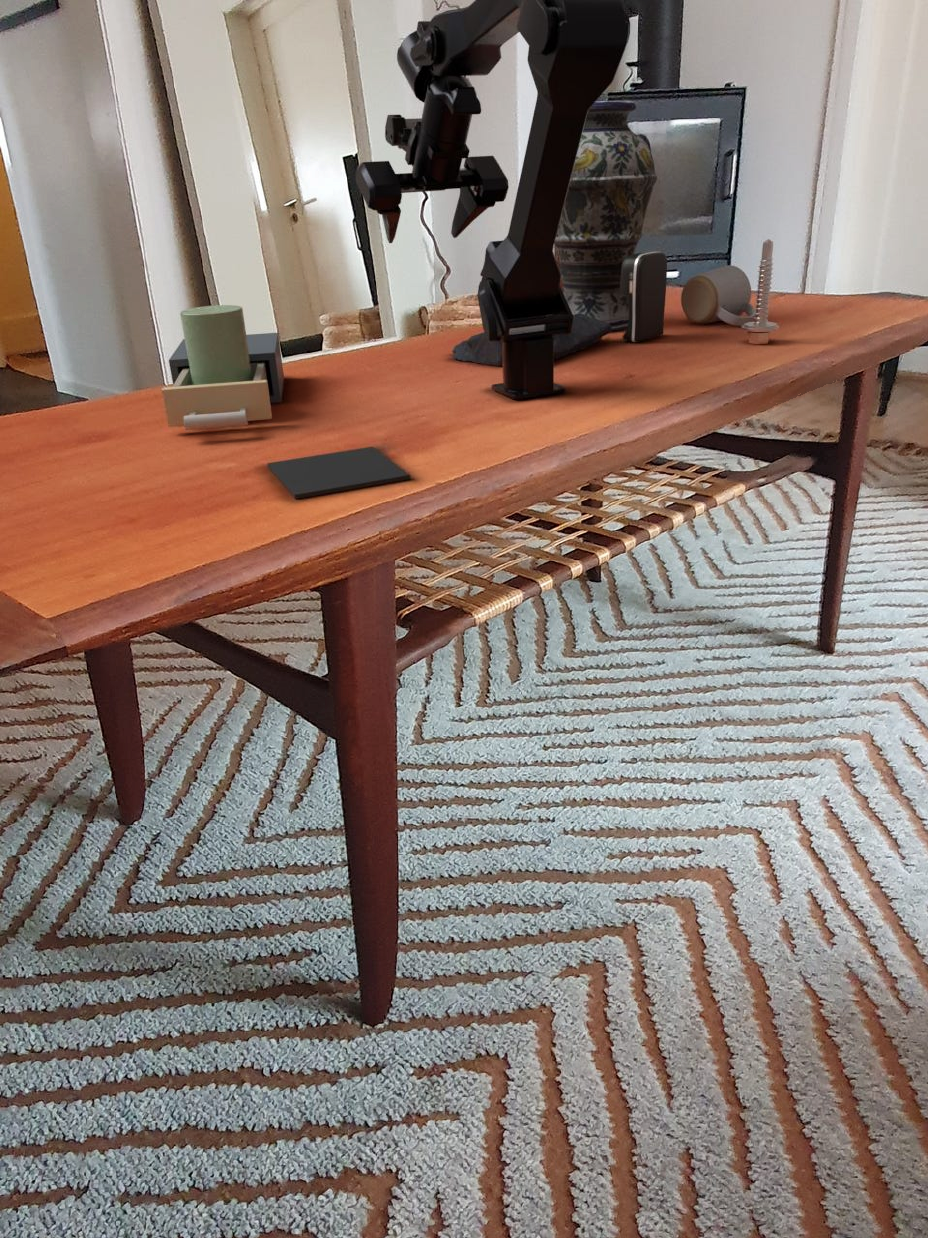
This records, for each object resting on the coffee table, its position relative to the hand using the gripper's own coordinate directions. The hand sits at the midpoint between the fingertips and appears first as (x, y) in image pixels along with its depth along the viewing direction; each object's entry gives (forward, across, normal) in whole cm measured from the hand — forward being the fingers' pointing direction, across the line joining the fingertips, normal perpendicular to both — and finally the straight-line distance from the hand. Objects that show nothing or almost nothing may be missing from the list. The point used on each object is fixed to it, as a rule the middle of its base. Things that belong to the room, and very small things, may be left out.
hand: (421, 238), depth 124 cm
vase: (+14, -28, +6) cm, 32 cm away
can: (-1, +32, +23) cm, 40 cm away
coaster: (-16, +28, +47) cm, 57 cm away
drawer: (-2, +33, +27) cm, 43 cm away
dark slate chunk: (+7, -12, +16) cm, 21 cm away
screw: (-1, -39, +27) cm, 47 cm away
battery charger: (+6, -28, +17) cm, 34 cm away
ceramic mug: (+8, -45, +14) cm, 48 cm away
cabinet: (+6, +29, +16) cm, 34 cm away
